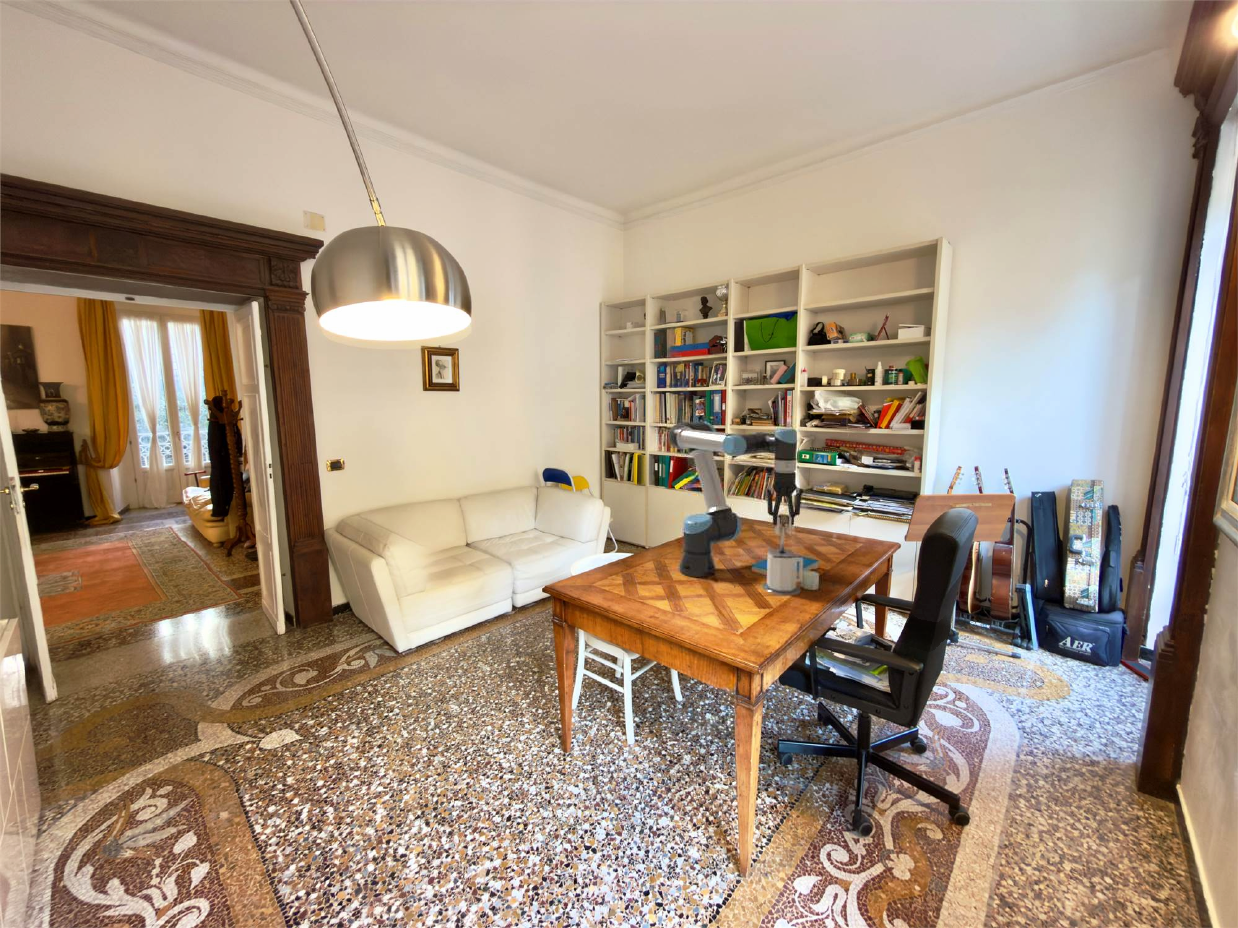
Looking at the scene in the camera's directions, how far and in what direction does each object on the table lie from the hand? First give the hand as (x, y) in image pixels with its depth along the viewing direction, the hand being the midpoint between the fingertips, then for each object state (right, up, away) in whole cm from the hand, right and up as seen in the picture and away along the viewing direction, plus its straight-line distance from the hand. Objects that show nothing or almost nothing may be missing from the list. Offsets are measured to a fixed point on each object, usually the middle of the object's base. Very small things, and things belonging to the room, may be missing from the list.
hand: (782, 533), depth 178 cm
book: (+9, -19, +23) cm, 31 cm away
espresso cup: (+11, -22, +4) cm, 25 cm away
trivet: (0, -22, +3) cm, 22 cm away
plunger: (0, -9, +1) cm, 9 cm away
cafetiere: (+1, -21, +3) cm, 21 cm away
